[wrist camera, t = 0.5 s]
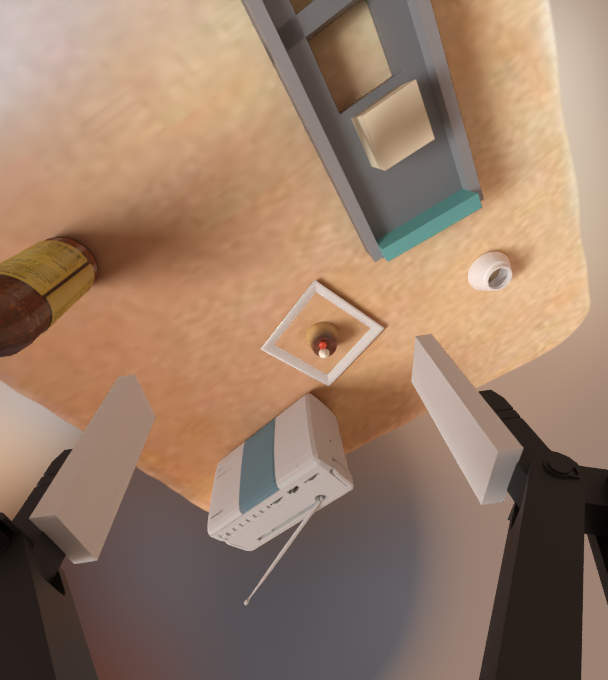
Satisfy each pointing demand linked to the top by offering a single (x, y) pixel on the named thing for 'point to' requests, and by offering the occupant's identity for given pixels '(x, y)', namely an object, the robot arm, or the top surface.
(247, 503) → the stereo radio cassette player
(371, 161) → the maple block
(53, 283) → the sauce bottle
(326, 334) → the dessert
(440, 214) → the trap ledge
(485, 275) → the white jar
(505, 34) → the top surface
